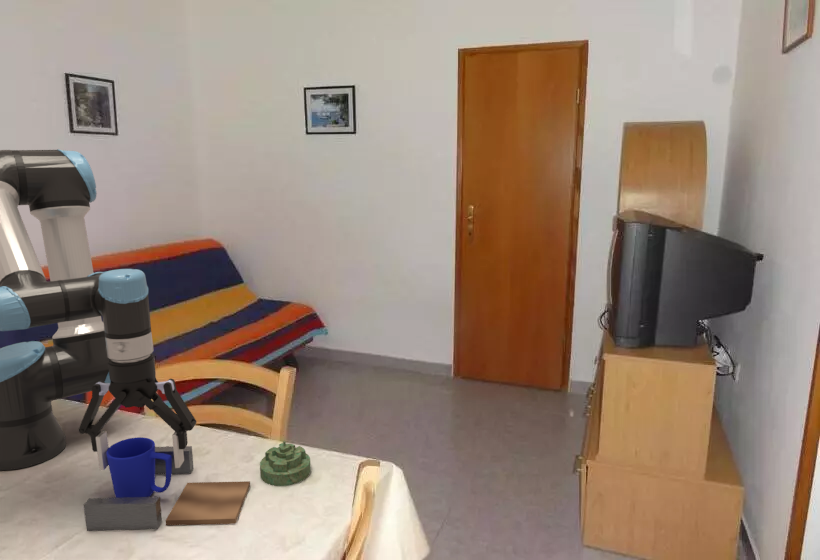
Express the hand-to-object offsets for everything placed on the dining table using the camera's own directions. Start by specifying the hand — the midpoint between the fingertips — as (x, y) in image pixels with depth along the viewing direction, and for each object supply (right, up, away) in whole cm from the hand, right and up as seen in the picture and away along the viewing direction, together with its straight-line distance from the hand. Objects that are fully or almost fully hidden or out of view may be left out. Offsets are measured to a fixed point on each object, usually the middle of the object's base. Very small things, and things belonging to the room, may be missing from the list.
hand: (142, 465), depth 110 cm
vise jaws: (0, -6, +3) cm, 7 cm away
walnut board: (+13, -7, -1) cm, 15 cm away
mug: (0, -7, +2) cm, 7 cm away
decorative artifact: (+24, -5, +11) cm, 27 cm away
